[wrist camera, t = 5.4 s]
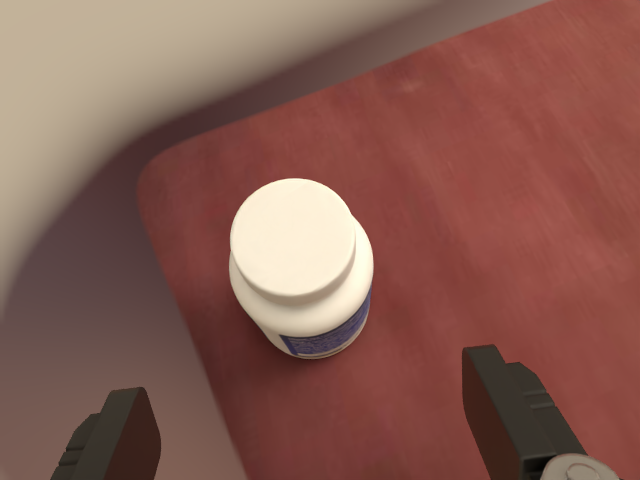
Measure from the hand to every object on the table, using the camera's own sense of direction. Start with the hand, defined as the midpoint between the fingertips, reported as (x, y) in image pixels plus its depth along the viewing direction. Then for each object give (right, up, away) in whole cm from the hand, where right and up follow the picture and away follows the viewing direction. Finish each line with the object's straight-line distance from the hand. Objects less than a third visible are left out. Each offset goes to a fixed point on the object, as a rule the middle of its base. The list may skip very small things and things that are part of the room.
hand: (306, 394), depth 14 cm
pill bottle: (0, +1, +12) cm, 12 cm away
